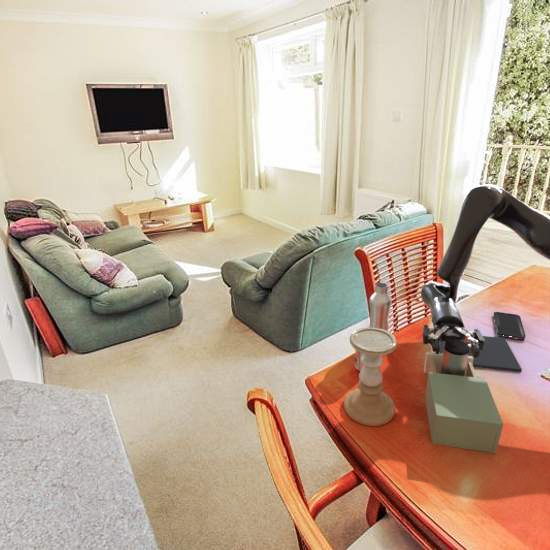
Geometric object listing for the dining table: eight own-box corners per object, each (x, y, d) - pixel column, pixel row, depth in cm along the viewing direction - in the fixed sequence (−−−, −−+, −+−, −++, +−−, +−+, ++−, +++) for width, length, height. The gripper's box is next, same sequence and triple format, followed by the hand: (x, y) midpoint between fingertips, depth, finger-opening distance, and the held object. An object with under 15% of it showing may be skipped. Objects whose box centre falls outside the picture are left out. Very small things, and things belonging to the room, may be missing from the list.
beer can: (356, 361, 110) (357, 326, 105) (372, 364, 108) (375, 328, 104) (353, 371, 106) (354, 335, 101) (370, 374, 104) (372, 337, 100)
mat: (504, 339, 116) (504, 337, 116) (521, 371, 102) (522, 369, 102) (435, 334, 121) (435, 331, 121) (442, 363, 107) (442, 361, 107)
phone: (519, 314, 127) (526, 337, 115) (519, 317, 128) (525, 340, 115) (493, 311, 130) (496, 332, 118) (492, 314, 131) (496, 335, 118)
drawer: (423, 368, 104) (425, 349, 102) (467, 372, 102) (471, 353, 99) (429, 404, 91) (432, 384, 89) (480, 411, 88) (485, 390, 86)
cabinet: (425, 398, 95) (428, 372, 92) (479, 405, 92) (485, 378, 88) (432, 443, 82) (436, 415, 79) (496, 453, 79) (503, 424, 76)
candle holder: (405, 412, 91) (413, 342, 83) (368, 435, 85) (373, 361, 77) (369, 385, 100) (373, 319, 92) (333, 403, 95) (334, 335, 87)
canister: (460, 379, 98) (467, 340, 93) (464, 393, 93) (471, 353, 88) (437, 377, 99) (443, 338, 94) (440, 390, 94) (446, 351, 89)
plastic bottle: (378, 350, 114) (383, 291, 107) (362, 340, 120) (365, 284, 112) (393, 343, 118) (398, 285, 110) (376, 334, 123) (380, 278, 115)
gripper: (421, 306, 106) (427, 337, 91) (476, 310, 102) (492, 342, 88) (418, 329, 108) (424, 362, 94) (472, 333, 105) (486, 369, 91)
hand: (456, 353), depth 91 cm, fingers open, 8 cm apart
